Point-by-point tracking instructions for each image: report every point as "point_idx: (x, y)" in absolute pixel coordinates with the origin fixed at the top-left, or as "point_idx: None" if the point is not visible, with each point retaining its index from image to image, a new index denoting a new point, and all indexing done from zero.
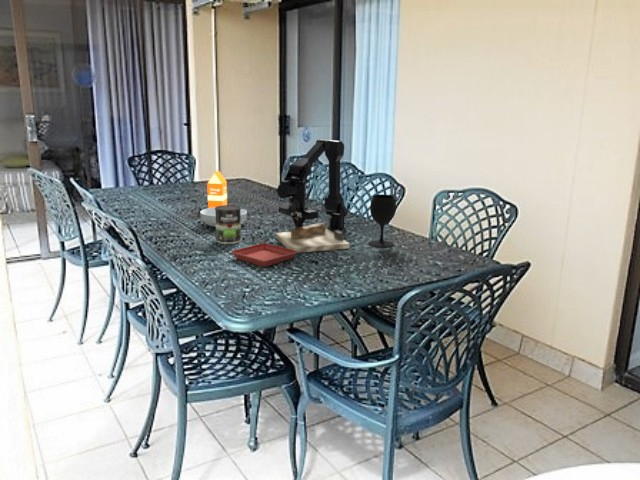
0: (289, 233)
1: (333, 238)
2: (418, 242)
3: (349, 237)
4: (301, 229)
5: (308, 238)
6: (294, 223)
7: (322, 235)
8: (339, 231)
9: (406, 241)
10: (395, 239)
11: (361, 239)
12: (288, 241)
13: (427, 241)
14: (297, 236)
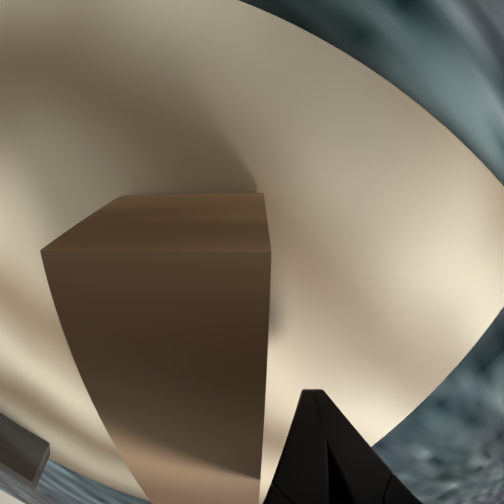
0: (430, 337)
1: (33, 429)
2: (5, 484)
3: (122, 494)
4: (105, 389)
5: None
6: (385, 480)
7: None
8: (7, 472)
9: (18, 487)
10: (42, 497)
11: (72, 484)
12: (137, 19)
13: (11, 493)
14: (103, 214)
